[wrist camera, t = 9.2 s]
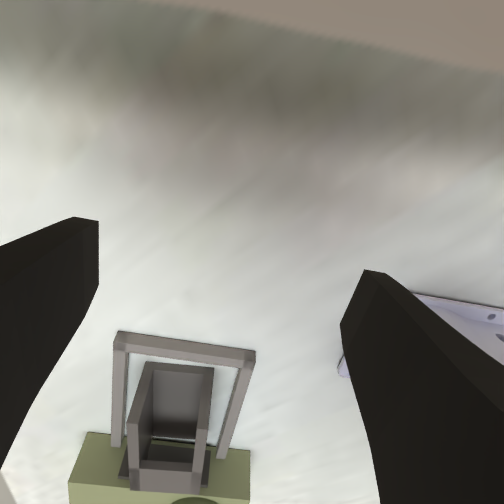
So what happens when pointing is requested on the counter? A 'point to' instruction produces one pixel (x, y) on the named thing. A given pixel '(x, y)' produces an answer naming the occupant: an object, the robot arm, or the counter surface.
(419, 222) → the counter surface
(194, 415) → the chute
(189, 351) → the grey frame stand
